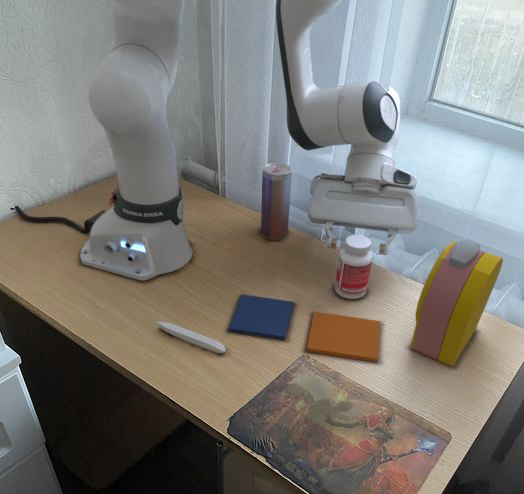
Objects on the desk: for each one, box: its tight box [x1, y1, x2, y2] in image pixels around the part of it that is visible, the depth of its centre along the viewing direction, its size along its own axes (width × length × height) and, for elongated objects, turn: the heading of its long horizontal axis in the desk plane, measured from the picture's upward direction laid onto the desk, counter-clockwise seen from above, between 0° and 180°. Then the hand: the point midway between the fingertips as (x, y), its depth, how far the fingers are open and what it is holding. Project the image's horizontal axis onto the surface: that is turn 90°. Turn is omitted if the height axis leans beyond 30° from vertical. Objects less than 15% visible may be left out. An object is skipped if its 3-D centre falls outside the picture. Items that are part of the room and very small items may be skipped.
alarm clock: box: [410, 239, 504, 367], centre depth 88 cm, size 15×8×18 cm, turn 145°
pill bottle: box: [334, 234, 374, 300], centre depth 100 cm, size 6×6×11 cm
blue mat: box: [228, 294, 295, 341], centre depth 97 cm, size 10×10×1 cm
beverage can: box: [260, 162, 293, 241], centre depth 113 cm, size 6×6×15 cm
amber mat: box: [305, 311, 381, 363], centre depth 93 cm, size 12×10×1 cm
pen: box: [155, 321, 227, 354], centre depth 91 cm, size 2×14×2 cm, turn 63°
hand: (357, 251), depth 100 cm, fingers open, 8 cm apart
